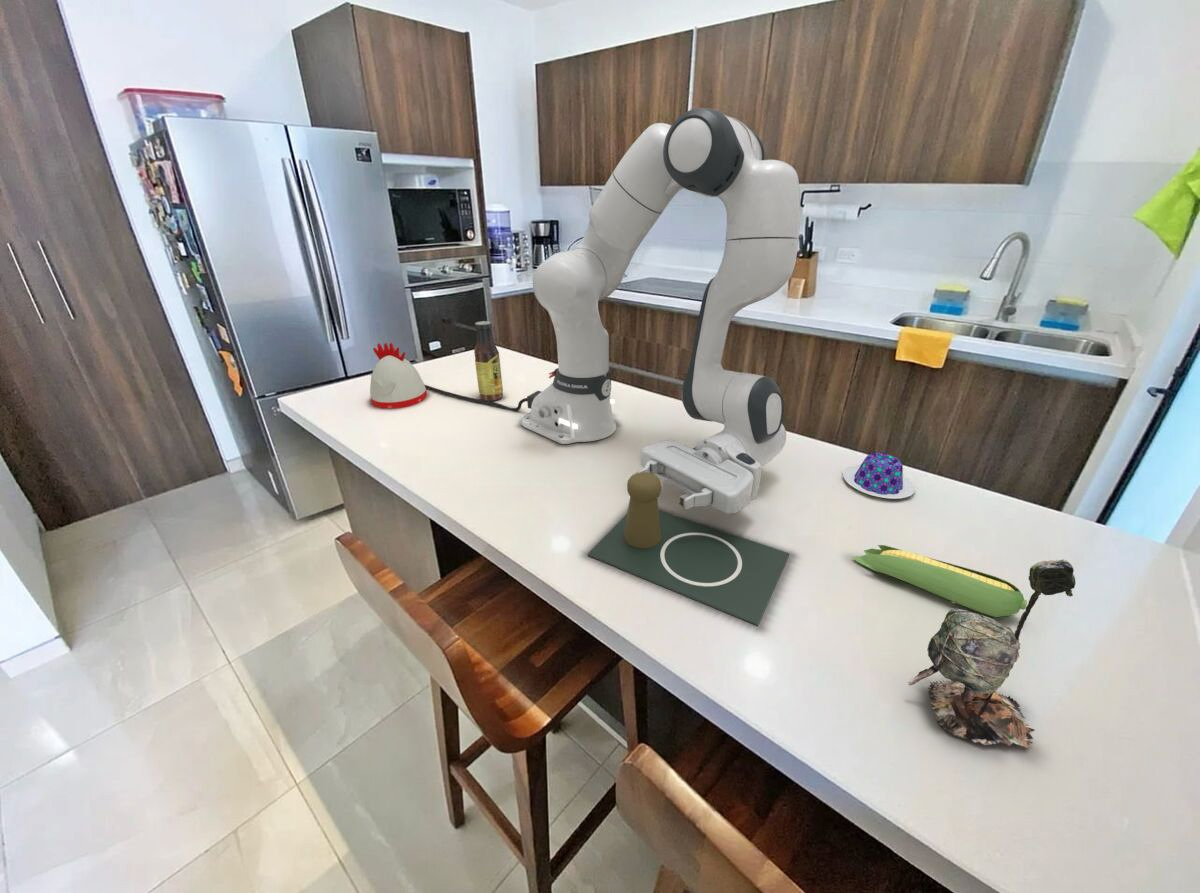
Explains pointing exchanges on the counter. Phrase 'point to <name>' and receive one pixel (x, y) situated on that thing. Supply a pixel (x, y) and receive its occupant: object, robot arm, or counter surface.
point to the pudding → (880, 477)
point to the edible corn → (947, 581)
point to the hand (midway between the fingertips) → (660, 490)
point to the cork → (643, 511)
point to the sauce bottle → (487, 363)
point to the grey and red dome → (395, 380)
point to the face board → (700, 565)
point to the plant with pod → (985, 666)
